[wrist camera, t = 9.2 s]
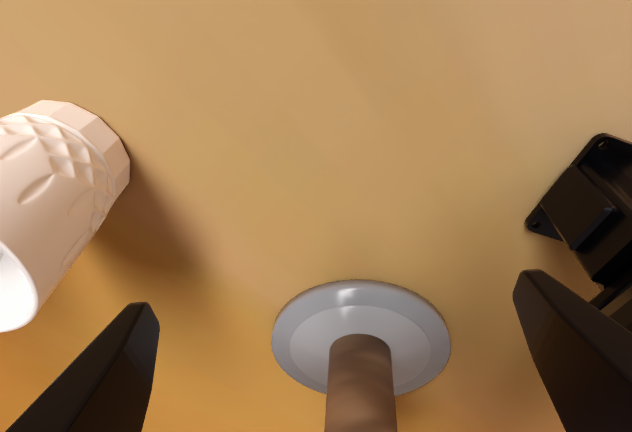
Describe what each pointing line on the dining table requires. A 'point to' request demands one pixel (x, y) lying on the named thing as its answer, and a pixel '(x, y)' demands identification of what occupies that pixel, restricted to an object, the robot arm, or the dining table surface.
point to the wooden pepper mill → (360, 386)
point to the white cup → (51, 199)
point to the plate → (361, 331)
